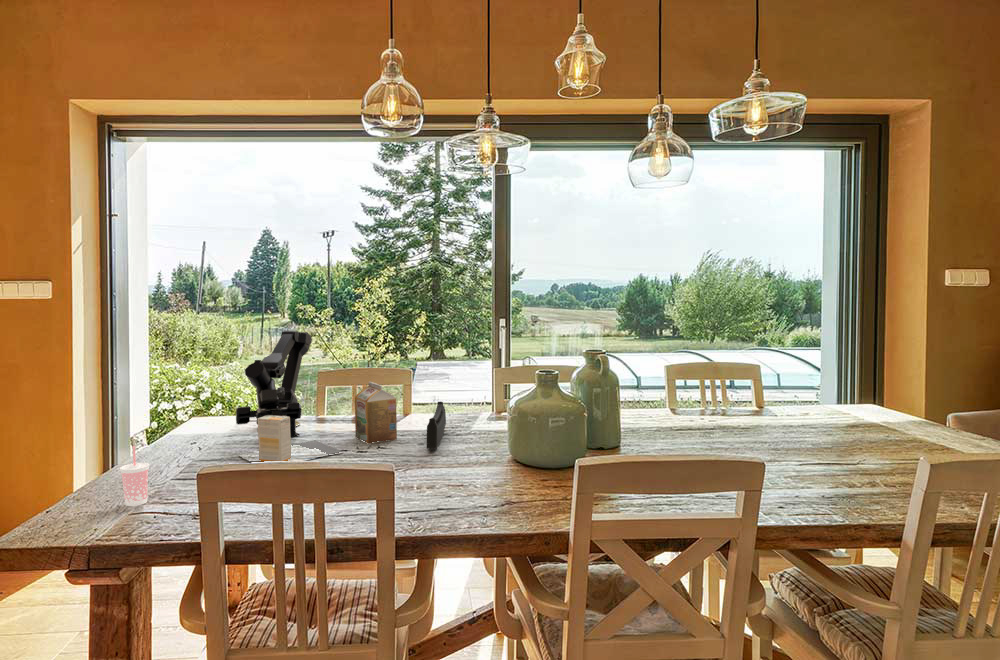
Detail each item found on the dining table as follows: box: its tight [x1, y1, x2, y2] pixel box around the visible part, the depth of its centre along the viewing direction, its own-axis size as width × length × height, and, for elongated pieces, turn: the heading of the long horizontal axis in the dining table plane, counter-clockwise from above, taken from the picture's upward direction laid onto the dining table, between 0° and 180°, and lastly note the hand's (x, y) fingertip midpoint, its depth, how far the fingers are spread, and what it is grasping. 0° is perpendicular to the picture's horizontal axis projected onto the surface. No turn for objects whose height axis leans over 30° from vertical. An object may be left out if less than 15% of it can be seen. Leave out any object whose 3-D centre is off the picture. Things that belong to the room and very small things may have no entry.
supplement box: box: [257, 415, 292, 462], centre depth 179 cm, size 8×5×13 cm, turn 71°
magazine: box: [425, 401, 447, 450], centre depth 204 cm, size 17×3×30 cm
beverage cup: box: [119, 445, 150, 507], centre depth 146 cm, size 6×6×14 cm
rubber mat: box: [249, 439, 344, 463], centre depth 188 cm, size 19×25×1 cm
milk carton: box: [354, 381, 398, 444], centre depth 207 cm, size 11×11×19 cm
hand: (271, 436), depth 184 cm, fingers closed
